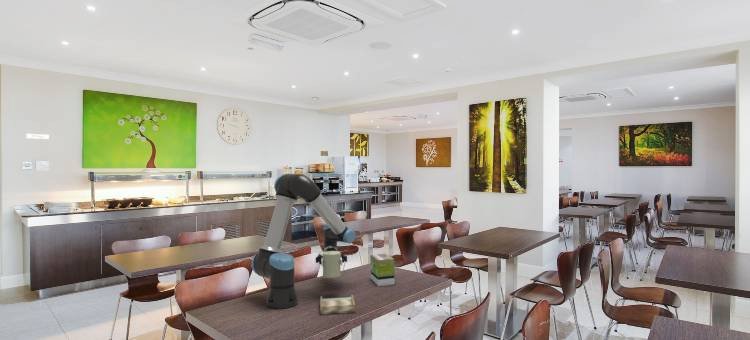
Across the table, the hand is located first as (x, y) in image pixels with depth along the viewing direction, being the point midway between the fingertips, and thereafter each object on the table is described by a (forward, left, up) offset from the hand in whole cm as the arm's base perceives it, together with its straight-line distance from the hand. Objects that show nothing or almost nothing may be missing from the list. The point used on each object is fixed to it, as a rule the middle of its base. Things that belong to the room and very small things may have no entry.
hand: (331, 263), depth 205 cm
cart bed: (+2, -13, -18) cm, 22 cm away
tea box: (+29, +26, -18) cm, 43 cm away
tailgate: (+2, -4, -18) cm, 18 cm away
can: (0, +5, -7) cm, 9 cm away
